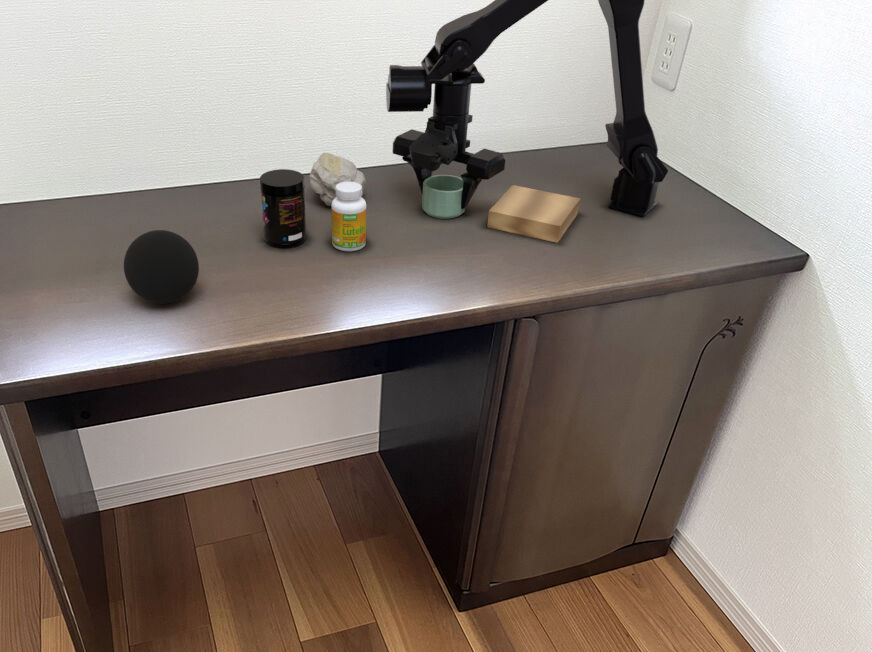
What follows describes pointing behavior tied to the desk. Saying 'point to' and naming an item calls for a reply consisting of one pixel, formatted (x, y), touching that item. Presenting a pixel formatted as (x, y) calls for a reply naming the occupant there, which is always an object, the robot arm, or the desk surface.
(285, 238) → the supplement container
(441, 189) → the bowl
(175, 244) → the decorative ball
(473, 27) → the robot arm
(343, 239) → the supplement bottle
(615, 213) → the desk surface
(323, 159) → the fossil replica
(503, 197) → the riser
